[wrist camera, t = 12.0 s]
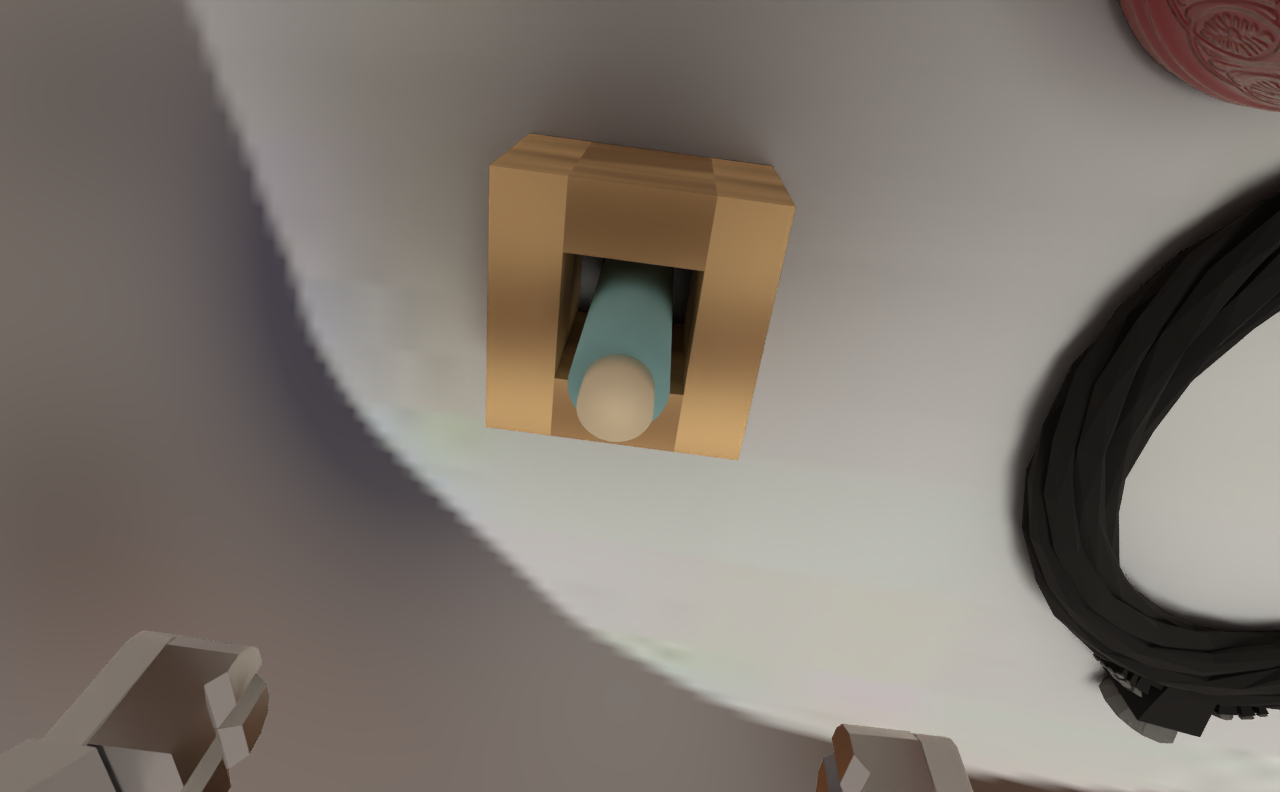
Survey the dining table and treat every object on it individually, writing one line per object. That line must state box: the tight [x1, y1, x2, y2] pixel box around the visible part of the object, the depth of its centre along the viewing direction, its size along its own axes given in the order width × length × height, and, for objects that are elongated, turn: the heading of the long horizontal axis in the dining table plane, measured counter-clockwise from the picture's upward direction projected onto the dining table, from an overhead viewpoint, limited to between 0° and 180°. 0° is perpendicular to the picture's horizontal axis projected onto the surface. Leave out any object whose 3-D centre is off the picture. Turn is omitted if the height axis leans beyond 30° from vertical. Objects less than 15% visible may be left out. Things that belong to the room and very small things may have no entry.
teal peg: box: [568, 258, 674, 442], centre depth 23 cm, size 3×3×11 cm
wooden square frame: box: [486, 134, 796, 460], centre depth 25 cm, size 9×9×6 cm
